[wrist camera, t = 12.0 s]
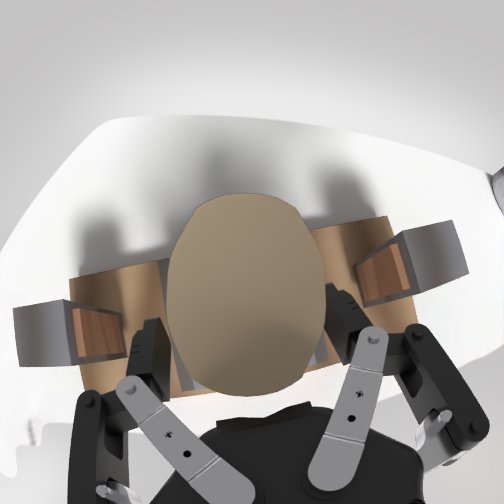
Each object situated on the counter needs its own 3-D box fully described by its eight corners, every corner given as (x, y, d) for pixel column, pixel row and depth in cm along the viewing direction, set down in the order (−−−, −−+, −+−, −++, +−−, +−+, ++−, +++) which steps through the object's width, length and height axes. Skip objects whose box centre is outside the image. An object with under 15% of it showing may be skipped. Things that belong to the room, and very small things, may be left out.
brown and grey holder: (378, 222, 28) (435, 170, 17) (409, 332, 25) (484, 325, 14) (79, 282, 25) (9, 253, 14) (97, 398, 22) (28, 422, 11)
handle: (214, 354, 22) (166, 392, 7) (214, 277, 24) (175, 193, 9) (273, 354, 22) (326, 392, 8) (272, 277, 24) (317, 195, 9)
